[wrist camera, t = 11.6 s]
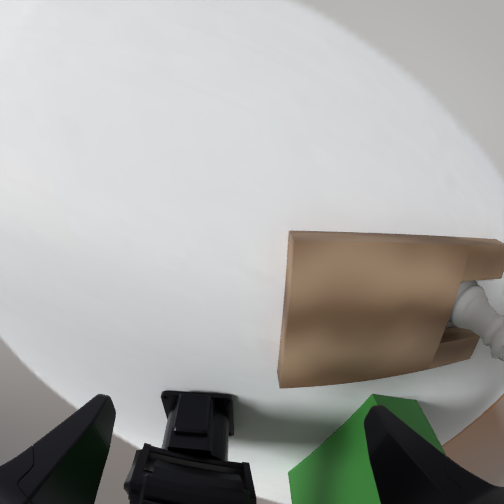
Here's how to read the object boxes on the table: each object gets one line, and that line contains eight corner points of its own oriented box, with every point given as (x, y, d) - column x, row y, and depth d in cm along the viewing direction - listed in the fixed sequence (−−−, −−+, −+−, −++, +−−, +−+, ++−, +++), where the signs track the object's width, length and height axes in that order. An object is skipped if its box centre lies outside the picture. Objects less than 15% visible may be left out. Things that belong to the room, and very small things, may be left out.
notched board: (460, 347, 23) (469, 358, 22) (277, 371, 23) (279, 388, 21) (496, 239, 19) (510, 246, 17) (289, 230, 19) (294, 240, 17)
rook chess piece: (446, 283, 21) (503, 333, 13) (479, 272, 20) (535, 314, 13) (439, 325, 22) (485, 379, 15) (472, 312, 22) (518, 358, 14)
